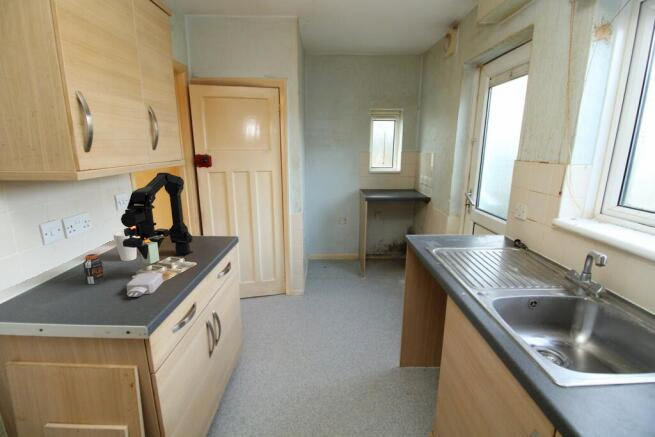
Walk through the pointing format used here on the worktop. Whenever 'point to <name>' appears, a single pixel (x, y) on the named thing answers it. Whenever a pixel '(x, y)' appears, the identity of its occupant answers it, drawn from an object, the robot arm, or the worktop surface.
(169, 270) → the socket board
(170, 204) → the robot arm
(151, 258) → the plug
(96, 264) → the pill bottle
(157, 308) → the worktop surface
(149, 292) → the charger
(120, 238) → the foam cup
